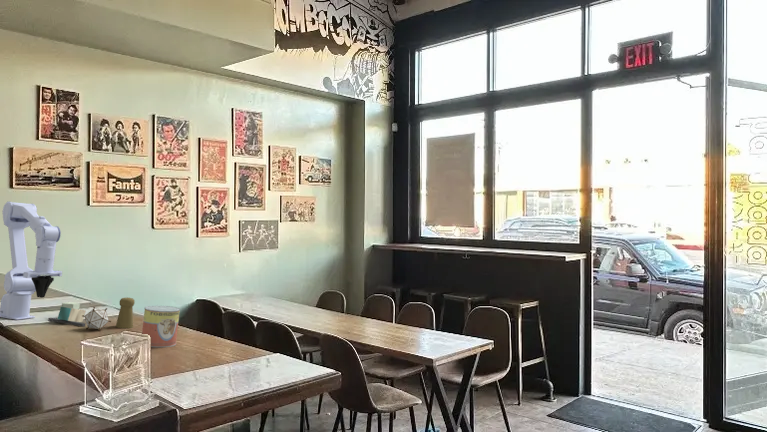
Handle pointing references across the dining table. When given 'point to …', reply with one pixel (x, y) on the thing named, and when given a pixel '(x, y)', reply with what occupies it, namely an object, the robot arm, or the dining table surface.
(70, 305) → the sage block
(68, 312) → the birch block
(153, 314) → the canned food
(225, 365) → the dining table surface
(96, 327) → the game die
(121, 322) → the cork
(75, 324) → the rubber trip strip
